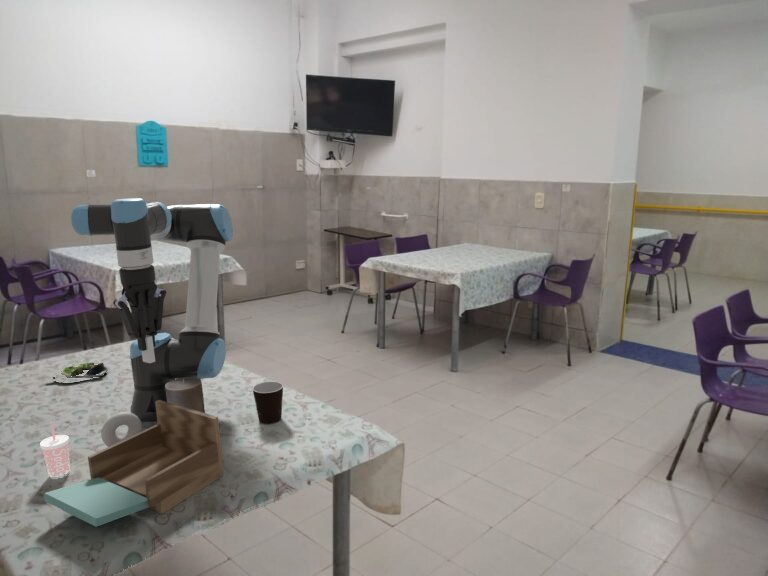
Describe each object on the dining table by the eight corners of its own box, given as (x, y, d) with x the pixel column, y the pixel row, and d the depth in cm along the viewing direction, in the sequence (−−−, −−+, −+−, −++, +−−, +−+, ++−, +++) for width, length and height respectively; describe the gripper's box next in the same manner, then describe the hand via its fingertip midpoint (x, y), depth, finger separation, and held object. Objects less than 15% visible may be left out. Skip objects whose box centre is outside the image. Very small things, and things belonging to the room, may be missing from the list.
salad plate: (49, 392, 190) (47, 379, 189) (42, 376, 204) (40, 364, 203) (112, 378, 201) (110, 365, 200) (101, 364, 215) (100, 353, 214)
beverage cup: (43, 483, 133) (34, 428, 130) (47, 471, 139) (38, 418, 136) (72, 477, 136) (64, 423, 133) (75, 465, 141) (67, 413, 138)
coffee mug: (278, 427, 160) (276, 393, 158) (250, 424, 162) (247, 392, 159) (293, 409, 171) (291, 378, 169) (266, 407, 173) (264, 376, 171)
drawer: (92, 492, 129) (84, 432, 126) (165, 454, 146) (159, 399, 143) (152, 519, 119) (144, 454, 116) (223, 475, 135) (218, 417, 132)
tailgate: (97, 489, 129) (43, 505, 118) (98, 477, 129) (44, 492, 118) (149, 512, 120) (95, 532, 109) (150, 499, 120) (96, 518, 109)
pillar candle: (208, 419, 166) (203, 370, 162) (204, 434, 156) (198, 383, 153) (174, 423, 164) (168, 374, 161) (167, 438, 155) (160, 386, 152)
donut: (105, 456, 145) (100, 420, 143) (102, 451, 148) (97, 416, 146) (145, 444, 152) (141, 409, 149) (141, 439, 154) (137, 405, 152)
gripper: (121, 273, 124) (135, 373, 130) (170, 262, 135) (181, 355, 141) (100, 270, 128) (115, 367, 134) (150, 259, 139) (161, 350, 145)
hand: (149, 361), depth 138 cm, fingers closed
